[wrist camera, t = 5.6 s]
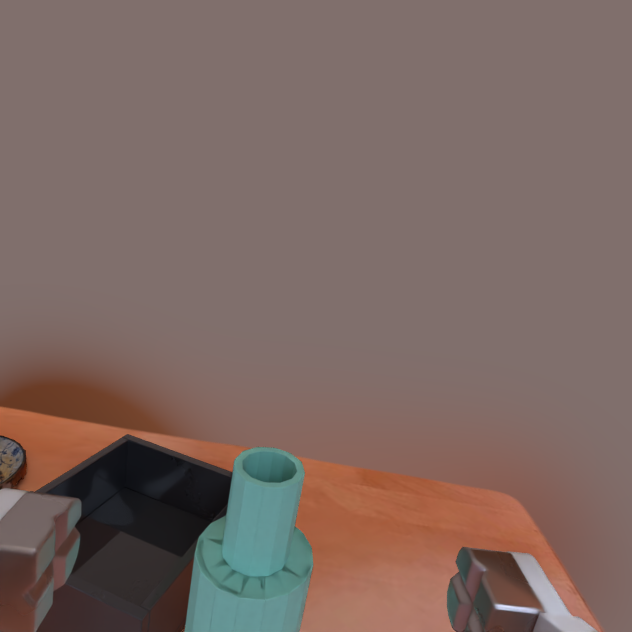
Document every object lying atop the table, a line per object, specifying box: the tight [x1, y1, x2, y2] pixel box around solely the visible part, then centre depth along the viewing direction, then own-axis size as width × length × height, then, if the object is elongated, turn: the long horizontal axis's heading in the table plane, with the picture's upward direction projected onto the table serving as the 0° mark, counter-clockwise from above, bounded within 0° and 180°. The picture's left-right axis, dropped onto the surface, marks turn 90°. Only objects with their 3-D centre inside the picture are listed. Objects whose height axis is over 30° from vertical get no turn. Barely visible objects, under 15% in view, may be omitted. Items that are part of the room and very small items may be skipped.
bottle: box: [185, 447, 313, 632], centre depth 26 cm, size 6×6×20 cm
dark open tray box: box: [35, 434, 233, 632], centre depth 40 cm, size 17×15×6 cm
